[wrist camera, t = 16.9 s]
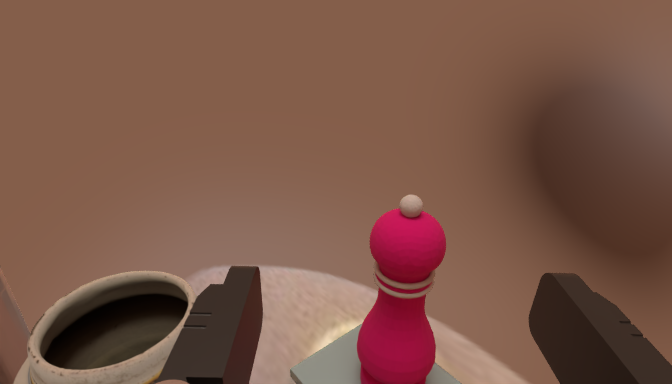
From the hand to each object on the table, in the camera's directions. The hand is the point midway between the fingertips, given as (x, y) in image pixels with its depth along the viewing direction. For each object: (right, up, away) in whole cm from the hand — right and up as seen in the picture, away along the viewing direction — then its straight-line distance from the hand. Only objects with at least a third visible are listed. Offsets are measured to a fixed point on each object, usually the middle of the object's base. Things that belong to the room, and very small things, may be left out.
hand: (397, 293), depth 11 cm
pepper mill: (+4, -16, +27) cm, 31 cm away
